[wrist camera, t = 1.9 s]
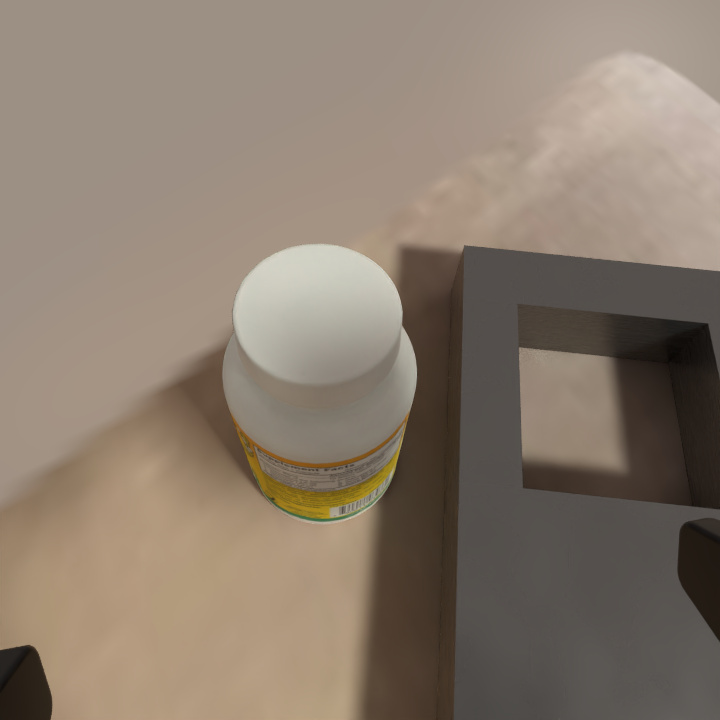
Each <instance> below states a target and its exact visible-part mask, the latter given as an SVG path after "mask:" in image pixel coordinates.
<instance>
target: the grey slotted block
mask: <svg viewBox="0 0 720 720" xmlns="http://www.w3.org/2000/svg"><path fill="white" fill-rule="evenodd" d="M519 347H524V348H533V349H543V350H552V351H562V352H572V353H581V354H591V355H600V356H610V357H619V358H629V359H638V360H648V361H657V362H667V363H669V367H670V373H671V379H672V385H673V391H674V397H675V403H676V409H677V415H678V421H679V426H680V432H681V438H682V444H683V450H684V456H685V462H686V468H687V474H688V480H689V486H690V492H691V498H692V504H693V507H691V506H682V505H673V504H664V503H655V502H646V501H636V500H627V499H618V498H609V497H600V496H591V495H581V494H572V493H563V492H554V491H545V490H536V489H526V488H523V474H522V441H521V408H520V375H519ZM703 518H714V519H718V520H720V271H710V270H700V269H691V268H681V267H671V266H661V265H651V264H642V263H632V262H622V261H612V260H602V259H592V258H583V257H573V256H563V255H553V254H543V253H533V252H524V251H514V250H504V249H494V248H484V247H474V246H465V245H464V249H463V252H462V256H461V259H460V263H459V266H458V270H457V273H456V277H455V280H454V284H453V287H452V291H451V321H450V350H449V380H448V409H447V439H446V468H445V497H444V527H443V556H442V586H441V615H440V644H439V674H438V703H437V720H720V642H719V640H718V639H717V637H716V636H715V635H714V633H713V632H712V630H711V629H710V627H709V626H708V624H707V623H706V621H705V620H704V618H703V617H702V616H701V614H700V613H699V611H698V610H697V608H696V607H695V605H694V604H693V602H692V601H691V599H690V598H689V597H688V595H687V594H686V592H685V591H684V589H683V587H682V585H681V583H680V581H679V578H678V573H677V564H678V547H679V532H680V528H681V526H682V525H683V524H684V523H685V522H687V521H693V520H698V519H703Z"/></svg>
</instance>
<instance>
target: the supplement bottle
mask: <svg viewBox="0 0 720 720" xmlns="http://www.w3.org/2000/svg"><path fill="white" fill-rule="evenodd" d="M402 317H403V311H402V305H401V301H400V297H399V294H398V291H397V289H396V287H395V285H394V283H393V282H392V280H391V279H390V277H389V276H388V275H387V273H386V272H385V271H384V270H383V269H382V268H381V267H380V266H379V265H378V264H376V263H375V262H373V261H372V260H371V259H369V258H368V257H366V256H364V255H362V254H361V253H358V252H356V251H354V250H351V249H348V248H345V247H341V246H335V245H329V244H306V245H299V246H294V247H289V248H286V249H284V250H281V251H279V252H277V253H275V254H273V255H271V256H269V257H267V258H266V259H264V260H263V261H261V262H260V263H259V264H257V265H256V266H255V267H254V268H253V269H252V270H251V271H250V272H249V273H248V275H247V276H246V277H245V279H244V280H243V281H242V283H241V285H240V287H239V289H238V291H237V293H236V296H235V300H234V304H233V309H232V321H233V328H234V332H233V334H232V336H231V338H230V340H229V343H228V345H227V348H226V352H225V355H224V359H223V368H222V380H223V388H224V393H225V397H226V401H227V404H228V407H229V410H230V413H231V416H232V419H233V422H234V425H235V427H236V430H237V433H238V435H239V438H240V441H241V443H242V446H243V448H244V451H245V453H246V456H247V459H248V462H249V465H250V467H251V470H252V472H253V475H254V477H255V479H256V481H257V483H258V485H259V487H260V489H261V491H262V492H263V494H264V496H265V497H266V498H267V499H268V501H269V502H270V503H271V504H272V505H273V506H274V507H275V508H276V509H278V510H279V511H280V512H282V513H284V514H285V515H287V516H289V517H291V518H293V519H296V520H299V521H302V522H307V523H311V524H334V523H339V522H343V521H346V520H349V519H352V518H354V517H356V516H358V515H360V514H362V513H363V512H365V511H367V510H368V509H369V508H370V507H372V506H373V505H374V504H375V503H376V502H377V501H378V500H379V499H380V498H381V497H382V495H383V494H384V493H385V491H386V490H387V488H388V486H389V484H390V482H391V480H392V478H393V475H394V472H395V468H396V464H397V460H398V456H399V452H400V448H401V445H402V441H403V436H404V432H405V428H406V424H407V420H408V417H409V413H410V409H411V406H412V402H413V398H414V394H415V389H416V383H417V366H416V358H415V354H414V350H413V347H412V344H411V342H410V339H409V337H408V335H407V333H406V331H405V330H404V328H403V327H402Z"/></svg>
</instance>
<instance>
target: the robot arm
mask: <svg viewBox="0 0 720 720" xmlns="http://www.w3.org/2000/svg"><path fill="white" fill-rule="evenodd" d="M677 573H678V578H679V581H680V583H681V585H682V587H683V589H684V591H685V592H686V594H687V595H688V597H689V598H690V599H691V601H692V602H693V604H694V605H695V607H696V608H697V610H698V611H699V613H700V614H701V616H702V617H703V618H704V620H705V621H706V623H707V624H708V626H709V627H710V629H711V630H712V632H713V633H714V635H715V636H716V637H717V639H718V640H719V642H720V520H718V519H714V518H703V519H698V520H693V521H687V522H685V523H684V524H683V525H682V526H681V528H680V532H679V547H678V564H677ZM51 715H52V696H51V692H50V688H49V685H48V682H47V679H46V676H45V672H44V669H43V666H42V663H41V660H40V656H39V654H38V652H37V650H36V649H35V647H33V646H30V645H25V646H20V647H14V648H9V649H4V650H0V720H51Z"/></svg>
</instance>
